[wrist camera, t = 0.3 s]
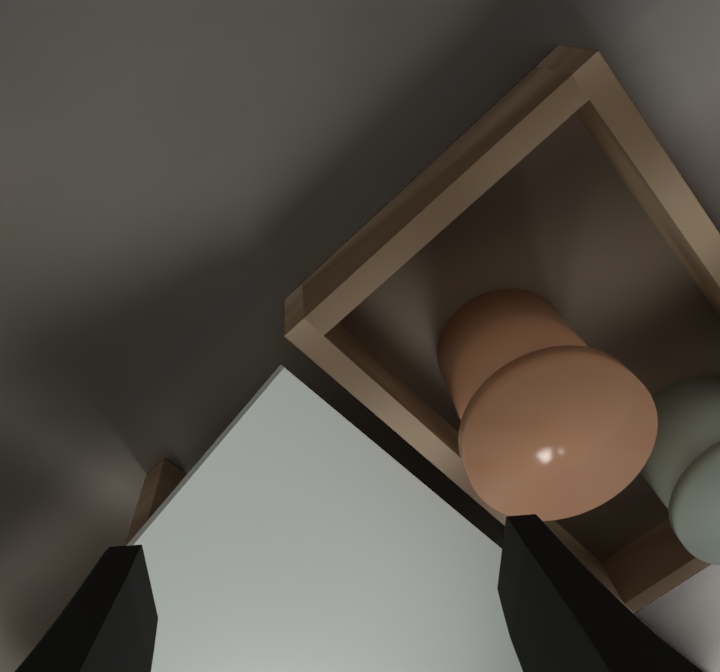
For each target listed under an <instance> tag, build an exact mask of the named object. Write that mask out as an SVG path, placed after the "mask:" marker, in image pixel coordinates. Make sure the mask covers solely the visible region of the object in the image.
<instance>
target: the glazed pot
mask: <svg viewBox="0 0 720 672" xmlns="http://www.w3.org/2000/svg"><path fill="white" fill-rule="evenodd" d="M652 399H653V401H654V403H655V407H656V411H657V418H658V428H657V436H656V440H655V444H654V447H653V449H652V452H651V454H650V456H649V458H648V460H647V462H646V464H645V465H644V467H643V468H642V470H641V471H640V473H641V474H642V476H643V477H644V478H645V480H646V481H647V482H648V484H649V485H650V486H651V488H652V489H653V490H654V492H655V493H656V494H657V496H658V497H659V498H660V500H661V501H662V502H663V504H664V505H665V506H666V508H667V509H668V516H669V522H670V525H671V528H672V530H673V532H674V533H675V535H676V536H677V537H678V539H679V540H680V541H681V543H682V544H683V545H684V547H685V548H686V549H687V550H688V552H690V553H691V554H692V555H693V556H695V557H696V558H698V559H700V560H702V561H704V562H707V563H711V564H715V565H720V376H717V375H698V376H693V377H688V378H685V379H682V380H679V381H677V382H674V383H672V384H670V385H668V386H667V387H665V388H663V389H662V390H660V391H659V392H657V393H656V394H655V395H653V396H652Z"/></svg>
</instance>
